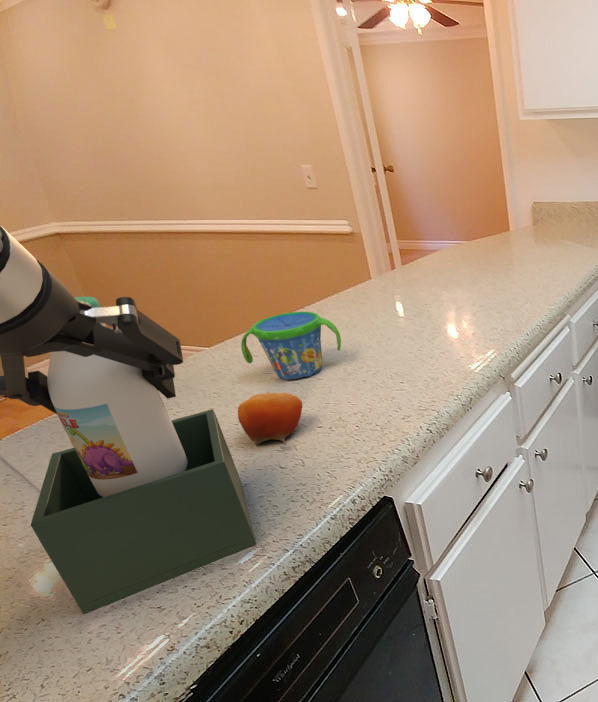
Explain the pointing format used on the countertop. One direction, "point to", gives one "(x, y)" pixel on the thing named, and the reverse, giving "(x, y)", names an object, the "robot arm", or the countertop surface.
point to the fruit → (270, 416)
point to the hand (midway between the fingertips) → (121, 396)
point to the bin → (143, 519)
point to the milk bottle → (113, 420)
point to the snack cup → (291, 343)
